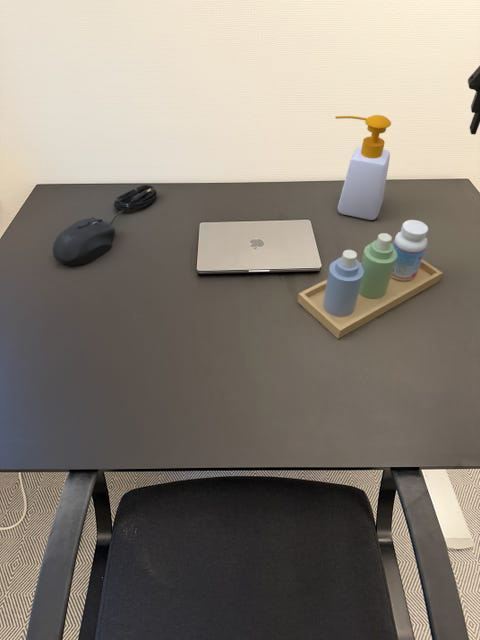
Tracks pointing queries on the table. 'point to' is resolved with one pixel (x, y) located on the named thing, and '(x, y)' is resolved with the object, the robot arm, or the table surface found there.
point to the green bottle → (377, 267)
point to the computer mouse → (96, 230)
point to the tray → (367, 301)
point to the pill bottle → (409, 249)
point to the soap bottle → (366, 173)
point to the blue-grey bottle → (343, 285)
